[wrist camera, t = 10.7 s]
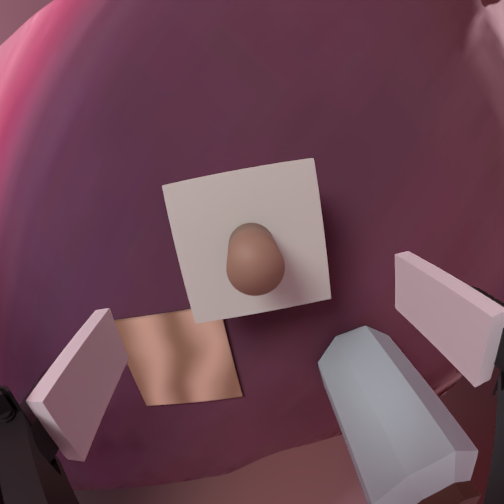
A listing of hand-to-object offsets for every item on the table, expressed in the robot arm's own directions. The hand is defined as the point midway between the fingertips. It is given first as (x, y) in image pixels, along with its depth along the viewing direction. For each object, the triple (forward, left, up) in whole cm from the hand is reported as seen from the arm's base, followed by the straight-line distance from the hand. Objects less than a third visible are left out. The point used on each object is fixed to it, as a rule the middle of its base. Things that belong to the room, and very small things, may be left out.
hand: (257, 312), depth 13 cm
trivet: (-11, -14, -19) cm, 26 cm away
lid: (0, 0, -13) cm, 13 cm away
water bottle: (+10, -18, -19) cm, 28 cm away
